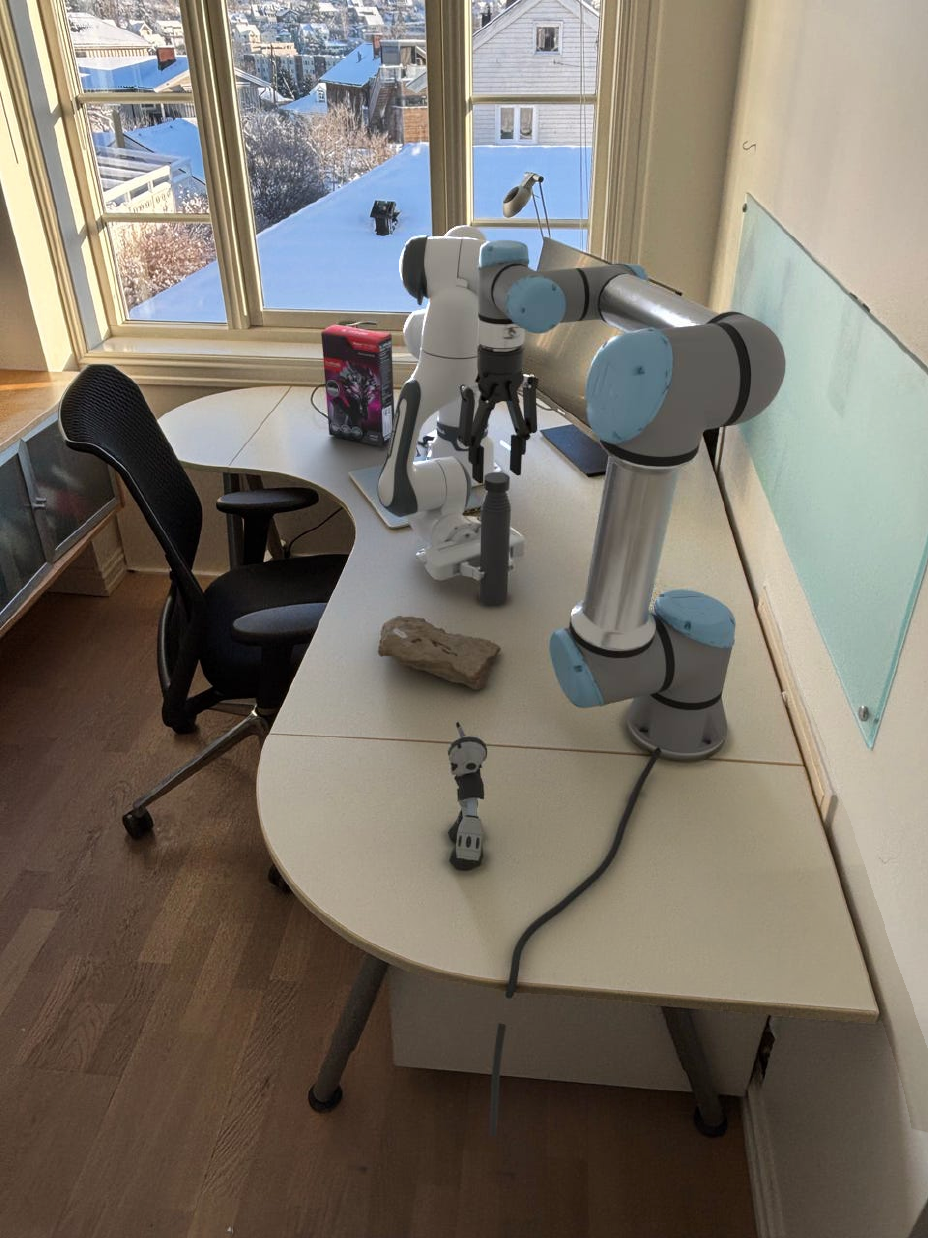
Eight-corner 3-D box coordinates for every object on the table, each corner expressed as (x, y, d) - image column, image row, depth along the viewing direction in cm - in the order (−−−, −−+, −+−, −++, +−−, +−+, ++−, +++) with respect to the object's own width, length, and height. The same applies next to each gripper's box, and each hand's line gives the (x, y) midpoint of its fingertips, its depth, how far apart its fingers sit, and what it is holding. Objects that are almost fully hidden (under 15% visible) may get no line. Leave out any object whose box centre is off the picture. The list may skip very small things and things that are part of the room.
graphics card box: (326, 436, 238) (318, 330, 223) (342, 427, 243) (334, 322, 228) (383, 449, 231) (378, 340, 216) (397, 439, 237) (393, 333, 221)
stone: (354, 663, 151) (360, 631, 149) (385, 632, 165) (392, 602, 162) (474, 706, 148) (483, 673, 145) (496, 671, 161) (504, 640, 159)
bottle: (509, 593, 176) (514, 474, 162) (504, 608, 172) (509, 487, 158) (482, 590, 177) (485, 471, 163) (476, 604, 173) (479, 484, 159)
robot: (489, 905, 115) (493, 789, 104) (450, 907, 115) (450, 790, 104) (479, 793, 131) (482, 682, 120) (445, 794, 131) (445, 683, 120)
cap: (511, 483, 163) (512, 473, 162) (506, 494, 159) (507, 484, 158) (486, 480, 163) (487, 470, 162) (481, 491, 160) (481, 481, 159)
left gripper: (411, 539, 173) (448, 571, 164) (502, 513, 182) (542, 543, 173) (411, 567, 177) (448, 601, 167) (501, 541, 186) (540, 571, 176)
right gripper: (456, 360, 141) (455, 496, 154) (565, 343, 148) (556, 474, 161) (435, 346, 146) (436, 478, 159) (541, 330, 154) (534, 457, 167)
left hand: (497, 571), depth 170 cm, fingers closed on bottle, 5 cm apart
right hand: (496, 476), depth 160 cm, fingers open, 7 cm apart
